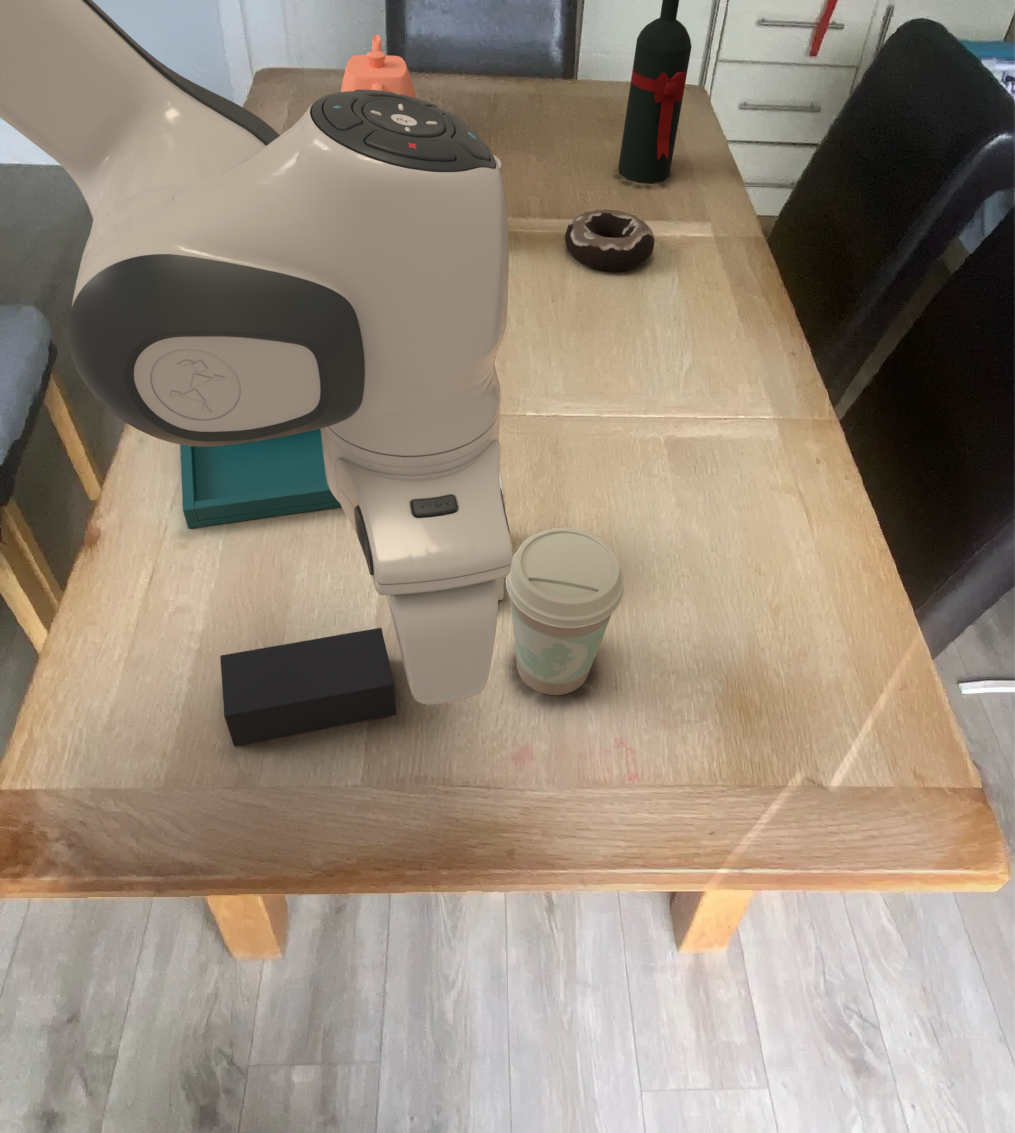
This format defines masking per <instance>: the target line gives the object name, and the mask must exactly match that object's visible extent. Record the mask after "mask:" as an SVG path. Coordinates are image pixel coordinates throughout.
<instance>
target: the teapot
mask: <svg viewBox="0 0 1015 1133" xmlns="http://www.w3.org/2000/svg"><path fill="white" fill-rule="evenodd" d="M382 46H383V45H382V37H381V36H380V35H379V34H374V35H373V36H372V38H371V51H369V52H367V53H366V54H355V55H352V56H351V57H350V58H349V59H348V61H347V63H346V67H345V70H344V74H343V77H342V82H341V88H340V92H346V91H355V90H359V89H367V90H381V91H388V92H393V93H398V94H403V95H407V96H411V97H414V98H417V95H416V90H415V86H414V83H413V80H412V77H411V74H410V71H409V68H408V65H407V63H406V61H405V60H404V59H403V57H402V56H399V55H389V54H388V55H387V54H386V52H384V51H383V47H382Z"/></svg>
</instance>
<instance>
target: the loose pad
mask: <svg viewBox="0 0 1015 1133" xmlns="http://www.w3.org/2000/svg"><path fill="white" fill-rule="evenodd" d="M219 658H220V674H221V676H220V677H221V688H222V690H221V691H222V701H223V702H222V705H223V716H224V720H225V722H226V726H227V728H228V732H229V735H230V738H231V741H232V745H233V746H234V747H238V746H244V745H248V744H253V743H254V744H255V743H258V742H259V743H260V742H264V741H268V740H274V739H279V738H284V737H290V736H294V735H299V734H304V733H305V734H306V733H310V732H315V731H320V730H325V729H330V728H336V727H340V726H345V725H352V724H355V723H356V724H357V723H361V722H367V721H371V720H377V719H383V718H387V717H392V716H396V715H397V707H396V706H397V705H396V691H395V690H396V689H395V682H394V677H393V673H392V668H391V664H390V660H389V655H388V651H387V646H386V642H385V638H384V633H383V629H382V627H376V628H371V629H366V630H359V631H352V632H349V633H347V632H346V633H342V634H337V635H331V636H325V637H319V638H313V639H308V640H307V639H306V640H301V641H296V642H290V643H285V644H279V645H273V646H267V647H261V648H254V649H250V650H244V651H238V652H233V653H227V654H221V655H220V656H219Z"/></svg>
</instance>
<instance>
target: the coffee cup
mask: <svg viewBox="0 0 1015 1133" xmlns="http://www.w3.org/2000/svg"><path fill="white" fill-rule="evenodd" d="M624 582H625V580H624V573H623V570H622V568H621V565H620V562H619V558H618V556H617V554H616V553H615V551H614V549H613V548H612V547H611V546H610V545H609V544H608V543H607V542H606V541H604V539H603V538H600V537H599V536H597V535H596V534H593V533H591V532H588V531H586V530H584V529H579V528H573V527H562V526H561V527H551V528H547V529H543V530H540V531H537V532H536V533H534V534H532V535H530V536H529V537H527V538H526V539H525V540H523V542H522V543H521V544H520V546H519V547H518V549H517V550H516V552H515V553H514V554H513V555H512V565H511V570H510V573H509V575H508V576H505V587H506V591H507V594H508V596H509V598H510V606H511V607H510V608H511V616H512V626H513V640H514V650H515V652H514V653H515V661H516V670H517V673H518V675H519V677H520V679H521V681H523V683H524V684H525V685H526V686H527V687H529V688H530V689H532V690H534V691H535V692H538V693H541V694H544V695H548V696H561V695H566V694H570V693H573V692H574V691H576V690H578V689H579V688H580V687H582V685H583V684H584V683H585V681H586V680H587V678H588V676H589V673H590V671H591V668H592V666H593V663H594V661H595V658H596V655H597V653H598V650H599V648H600V646H601V642H602V640H603V638H604V635H605V632H606V630H607V627H608V625H609V622H610V620H611V617H612V614H614V612H615V611H616V610H617V609H618V607H619V606H620V604H621V602H622V601H623V597H624V592H625V584H624Z"/></svg>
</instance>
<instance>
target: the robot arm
mask: <svg viewBox="0 0 1015 1133" xmlns="http://www.w3.org/2000/svg"><path fill="white" fill-rule="evenodd" d="M0 119H1V120H3V121H5V123H7V124H8V125H10V127H12V128H13V129H14V130H16V131H17V132H18V133H19V134H21V135H22V136H24V137H25V138H26V139H28V140H29V141H30V142H31V143H33V144H34V145H35V146H36V147H38V148H39V149H40V150H42V152H44V153H46V154H47V155H48V156H49V157H51V158H52V159H53V160H54V161H55V162H57V163H58V164H59V165H60V166H61V167H62V168H63V169H64V170H65V171H66V172H67V173H68V175H69V176H70V177H71V179H72V180H73V181H74V183H75V184H76V186H77V187H78V189H79V191H80V192H81V194H82V196H83V199H84V201H85V203H87V206H88V209H89V211H90V214H91V217H92V220H93V221H92V223H91V224H92V225H91V229H90V233H89V236H88V238H87V241H86V243H85V247H84V249H83V253H82V255H81V260H80V264H79V268H78V273H77V277H76V281H75V286H74V292H73V295H72V301H71V308H70V312H69V314H68V319H67V320H68V321H67V342H68V349H69V352H70V356H71V359H72V361H73V365H74V366H75V369H76V371H77V373H78V375H79V377H80V378H81V380H82V381H83V383H84V384H85V386H86V387H87V388H88V390H89V391H90V392H91V394H92V395H93V396H94V397H95V398H96V399H97V400H98V401H99V402H100V403H101V404H102V405H103V406H104V407H105V408H106V409H107V410H109V411H110V412H111V413H112V414H113V415H115V416H116V417H117V418H119V419H120V420H122V421H123V422H124V423H126V424H128V425H129V426H131V427H132V428H134V429H136V430H137V431H140V432H142V433H144V434H147V435H148V436H151V437H153V438H155V439H158V440H161V441H165V442H167V443H168V442H169V443H172V444H176V445H180V444H181V445H187V446H197V447H215V446H227V445H235V444H242V443H248V442H255V441H261V440H267V439H273V438H279V437H284V436H289V435H294V434H299V433H304V432H308V431H313V430H317V429H320V430H321V439H322V449H323V457H324V466H325V475H326V480H327V484H328V486H329V489H330V490H331V492H332V494H333V495H334V497H335V498H336V499H337V500H338V502H339V503H340V504H341V506H342V507H341V508H342V511H343V513H344V515H345V516H346V518H347V520H348V522H349V523H350V525H351V526H352V528H353V530H354V531H355V533H356V536H357V539H358V542H359V545H360V547H361V550H362V552H363V556H364V558H365V562H366V566H367V568H368V573H369V575H370V576H371V578H372V581H373V586H374V589H375V591H376V593H378V594H379V595H380V596H385V597H386V600H387V603H388V607H389V610H390V614H391V617H392V622H393V625H394V628H395V633H396V638H397V643H398V646H399V651H400V654H401V659H402V662H403V668H404V673H405V677H406V680H407V684H408V688H409V691H410V694H411V696H412V698H413V699H414V701H416V702H417V703H418V704H421V705H441V704H446V703H447V704H448V703H453V702H458V701H462V700H466V699H470V698H472V697H475V696H477V695H479V694H481V693H482V692H483V691H484V689H486V686H487V684H488V681H489V677H490V673H491V672H490V671H491V666H492V660H493V654H494V647H495V641H496V631H497V624H498V614H499V613H498V612H499V600H498V590H497V580H496V579H497V578H501V577H504V578H506V576H508V575H509V573H510V570H511V565H512V557H513V544H512V539H511V532H510V525H509V522H508V517H507V512H506V505H505V506H504V501H503V494H502V489H501V488H500V480H499V471H500V470H501V452H502V446H501V443H500V441H499V438H500V437H499V436H500V424H501V423H500V422H501V407H502V392H501V384H500V380H499V376H498V373H497V369H496V359H497V353H498V351H499V349H500V346H501V344H502V342H503V339H504V336H505V331H506V328H507V317H508V300H509V270H510V268H509V263H510V262H509V261H510V260H509V258H510V257H509V255H510V252H509V251H510V249H509V248H510V247H509V244H510V243H509V221H508V218H509V217H508V206H507V196H506V190H505V189H506V188H505V185H504V184H505V183H504V179H503V175H502V171H501V172H500V169H499V166H498V164H497V162H496V160H495V158H494V156H495V155H494V154H493V152H492V151H491V149H490V148H489V146H488V145H487V144H486V143H485V141H484V140H483V139H482V137H481V136H480V134H478V133H477V132H476V131H475V130H474V129H473V127H471V126H470V125H469V124H468V123H467V122H465V121H464V119H463V118H461V117H459V116H458V115H455V114H453V113H451V112H448V111H447V110H446V109H445V110H444V109H442V108H441V107H438V105H437V104H434V103H431V102H429V101H426V100H424V99H420V98H417V97H416V98H414V97H411V96H407V95H403V94H398V93H393V92H388V91H381V90H367V89H359V90H355V91H346V92H341V91H338V92H332V93H329V94H325V95H323V96H321V97H319V98H318V99H316V100H314V102H312V104H310V105H309V107H308V108H307V109H306V111H305V112H304V114H303V115H302V116H301V117H300V118H299V119H298V120H297V121H296V122H295V123H294V124H293V125H292V126H291V127H290V128H289V129H287V130H286V131H284V132H283V133H282V134H280V133H278V132H277V131H276V130H275V129H274V128H273V127H272V126H271V125H269V124H268V123H267V122H265V121H264V120H263V119H262V118H260V117H259V116H258V115H256V114H254V113H253V112H252V111H250V110H248V109H246V108H245V107H243V106H241V105H240V104H237V103H235V102H233V101H232V100H230V99H228V98H225V97H224V96H222V95H220V94H218V93H215V92H213V91H211V90H210V89H207V88H206V87H203V86H201V85H199V84H197V83H195V82H193V81H191V80H189V79H188V78H186V77H184V76H182V75H181V74H179V73H178V72H176V71H175V70H173V69H171V68H170V67H168V66H167V65H166V64H164V63H163V62H161V61H160V60H159V59H157V58H156V57H155V56H153V55H152V54H151V53H149V52H148V51H147V50H146V49H145V48H143V47H142V46H141V45H140V44H139V43H138V42H137V41H136V40H134V39H133V37H132V36H131V35H129V34H128V33H127V32H126V31H125V29H123V28H122V27H121V26H120V25H119V24H118V23H117V22H115V20H114V19H112V17H110V16H109V15H108V13H106V12H105V11H104V10H103V9H102V8H101V7H100V6H99V5H98V4H97V3H95V2H94V0H0ZM493 155H494V156H493Z"/></svg>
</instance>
